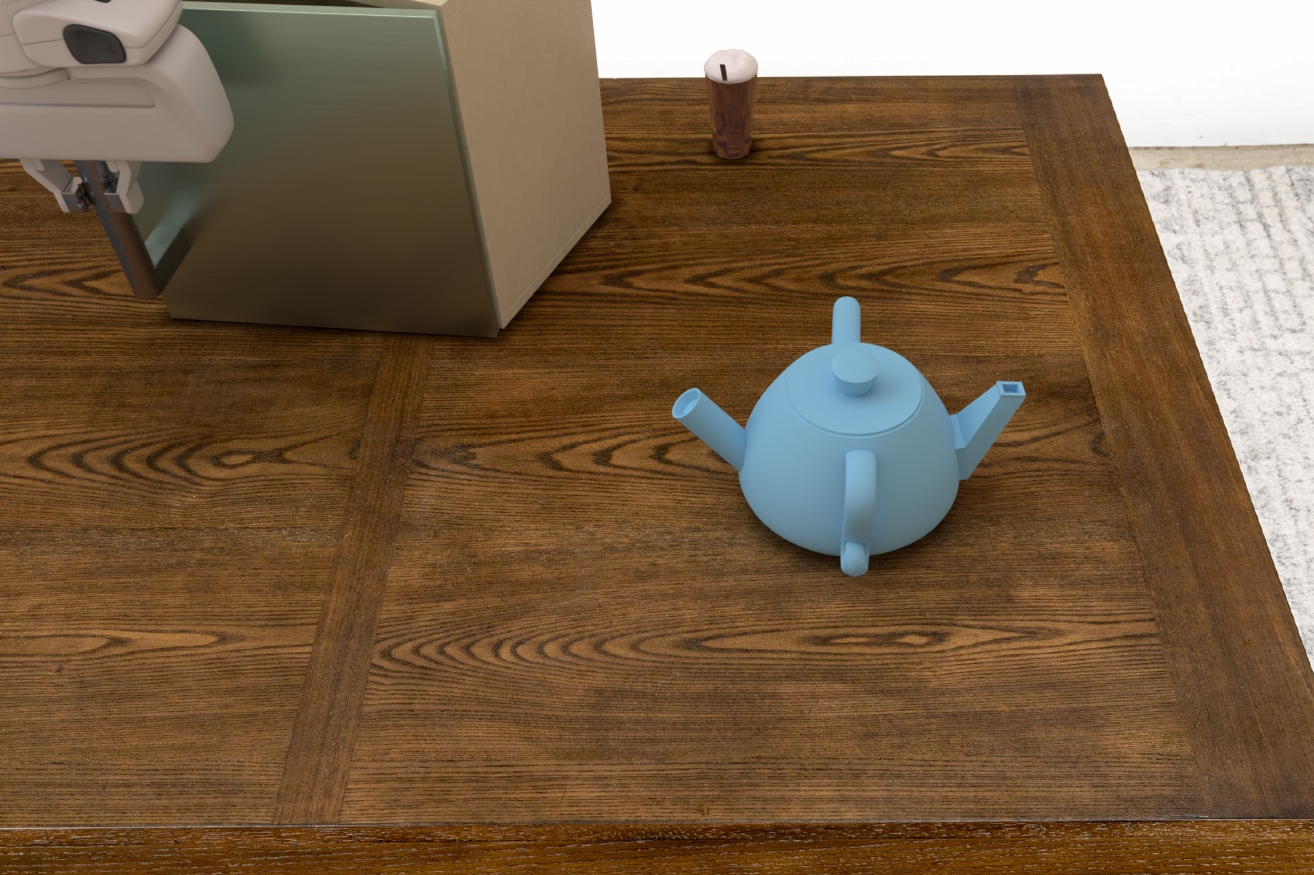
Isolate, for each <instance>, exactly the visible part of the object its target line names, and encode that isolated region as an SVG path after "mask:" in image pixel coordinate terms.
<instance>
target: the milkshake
mask: <svg viewBox="0 0 1314 875" xmlns="http://www.w3.org/2000/svg"><path fill="white" fill-rule="evenodd" d="M703 72H704V77H705V78H704V79H705V83H706V84H705V85H706V92H707V98H708V108H709V109H708V110H709V117H710V127H711V128H710V129H711V135H712V145H713V146H712V147H713V151H714V152H715V154H716V155H717V157H719V158H721V159H726V160H740V159H743V158H744V157H746V156H749V153H750V150H751V148H752V138H753V125H754V124H753V123H754V112H755V100H756V90H757V81H758V72H759V63H758V61H757V59H756V57H754V56H753V55H752V54H750V52H747V51H746V50H744V49H740V48H728V49H719V50H717V51H715V52H713V53H712V54H711V55H710V56H709V57H708V58H707V59H706V61H705V62H704V64H703Z"/></svg>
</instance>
